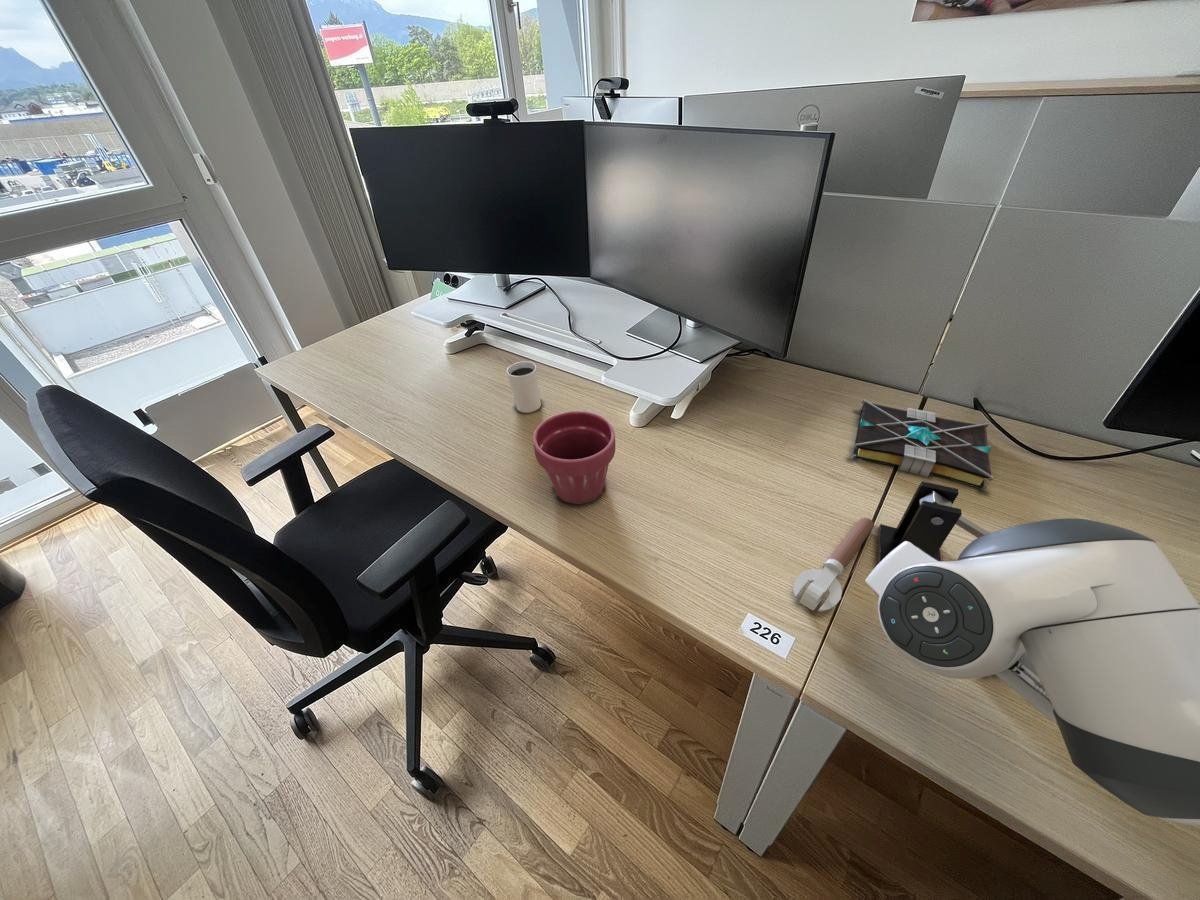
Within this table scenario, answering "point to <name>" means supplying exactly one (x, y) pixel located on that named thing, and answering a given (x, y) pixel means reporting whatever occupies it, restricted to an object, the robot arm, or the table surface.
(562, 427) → the flower pot
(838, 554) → the pizza cutter
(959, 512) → the black lever stand
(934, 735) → the table surface
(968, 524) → the lever
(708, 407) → the table surface
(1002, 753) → the table surface
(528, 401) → the white coffee cup
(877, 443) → the book
